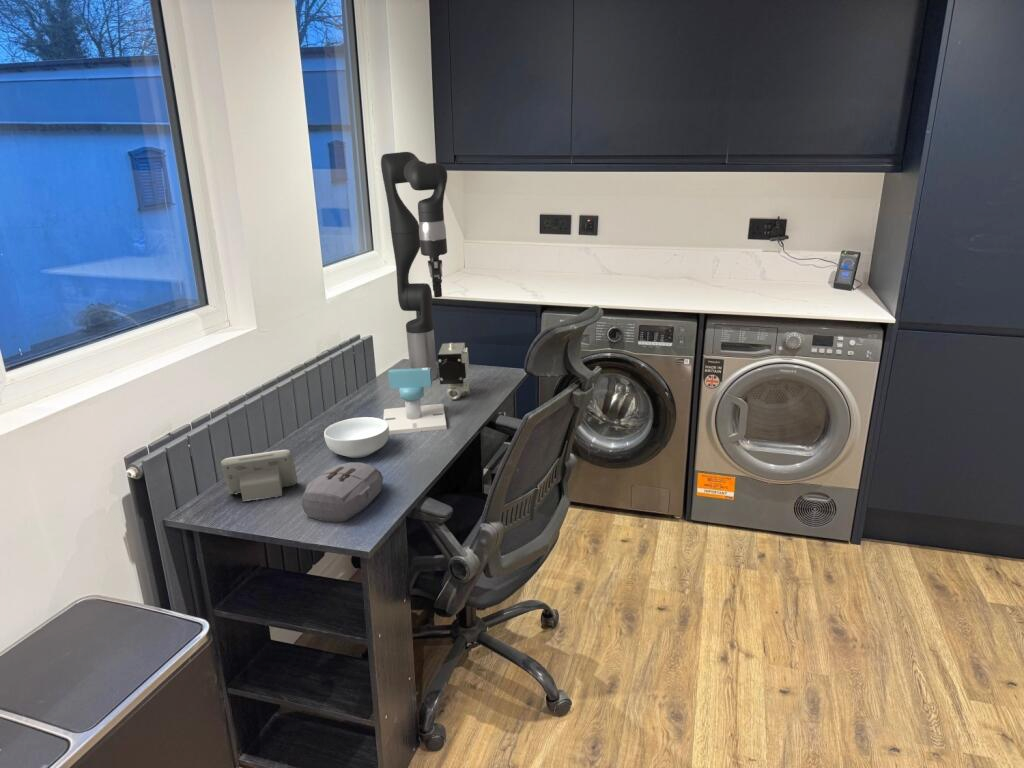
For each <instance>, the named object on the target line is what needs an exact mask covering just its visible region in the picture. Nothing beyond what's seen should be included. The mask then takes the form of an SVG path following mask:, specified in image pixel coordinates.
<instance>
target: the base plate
mask: <svg viewBox="0 0 1024 768" xmlns="http://www.w3.org/2000/svg"><path fill="white" fill-rule="evenodd" d="M404 405H405V406H402V407H392V408H385V409H383V419H382V420H385V421H386V422H387V423H388V425H389V436H390V435H398V434H399V435H400V434H409V433H419V432H421V431H422V432H429V431H430V432H431V431H440V430H442V431H443V430H447V429H448V428H447V420H446V414H445V408H444V403H437V404H427V405H421V398H419V399H415V400H404ZM422 432H421V433H422Z"/></svg>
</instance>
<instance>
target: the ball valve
mask: <svg viewBox="0 0 1024 768" xmlns="http://www.w3.org/2000/svg"><path fill="white" fill-rule="evenodd" d="M469 356H470V355H469V349H468V347H466V342H464V341H463V342H461V341H459V342H442V344H441V347H440V349H439V351H438V354H437V363H438V374H439V376H438V377H439V384H440V385H448V386H447V388H446V395H447V398H449V399H450V400H454V401H456V400H458V399H460V397H466V396H470V393H471V392H470V390H471V389H470V387H471V386H470V382H465V379H466V378H467V376H468V371H469V368H470V358H469Z"/></svg>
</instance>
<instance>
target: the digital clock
mask: <svg viewBox="0 0 1024 768" xmlns="http://www.w3.org/2000/svg"><path fill="white" fill-rule="evenodd" d="M293 455H294V454H293V452H292V451H291V450H290V449H280V450H272V451H265V452H258V453H251V454H245V455H243V454H242V455H238V456H230V457H226V458H224V459H222V460H221V461H220V465H221V466H220V467H221V470H222V473H223V476H224V479H225V483H226V486H227V490H228V492H229V494H231V493H238V492H241V494H240V495H241V498H242V501H243V500H247V499H256V498H265V497H275V498H277V497H276V496H281V497H282V496H283V491H282V488H283V489H284V488H287V487H291V486H295V485H296V484H297V483H298V476H297V470H296V467H295V466H296V465H295V462H294V457H293Z"/></svg>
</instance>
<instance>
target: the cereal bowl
mask: <svg viewBox="0 0 1024 768" xmlns="http://www.w3.org/2000/svg"><path fill="white" fill-rule="evenodd" d="M323 436H324V440H325V444H326V445H327V448H328V449H330V450H331V451H332V452H333V453H334V454H336V455H340V456H344V457H347V458H350V459H361V458H364V457H365V458H366V457H368V456H370V455H372V454H373V453H374V452H376V451H379V449H381V448H383V446H385V444H386V443H387V441H388V439H389V436H390V435H389V425H388V423H387V422H386V421H385V420H383V419H382V418H379V417H372V416H371V417H369V416H365V417H364V416H361V417H352V418H348V419H343V420H341V421H336V422H335V423H332V424H330V425H329V426H328V427H326V428H325V430H324V432H323Z"/></svg>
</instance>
